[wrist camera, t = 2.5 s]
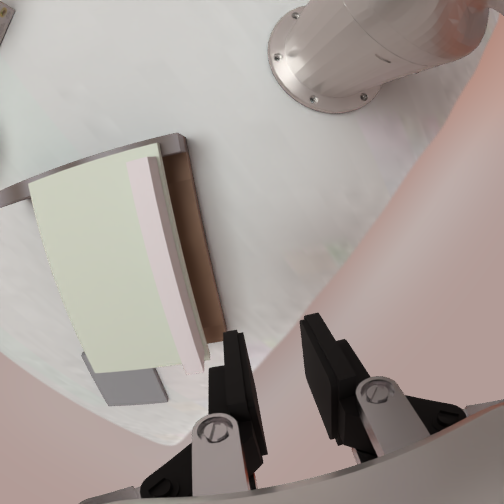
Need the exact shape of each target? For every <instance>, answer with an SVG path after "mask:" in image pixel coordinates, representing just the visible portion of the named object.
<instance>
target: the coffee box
mask: <svg viewBox="0 0 504 504" xmlns="http://www.w3.org/2000/svg"><path fill="white" fill-rule="evenodd" d="M14 12H15V10H14V9H12V8H11V7H9V6H7V5H6V4H4V3H2V2H1V1H0V44H1V41H2V39H3V36H4V34H5V32H6V29H7V27H8V25H9V23H10V21H11V18H12V16H13V14H14Z"/></svg>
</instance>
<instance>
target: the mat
mask: <svg viewBox="0 0 504 504" xmlns="http://www.w3.org/2000/svg"><path fill="white" fill-rule="evenodd" d="M81 356H82V358H83V360H84V362H85V364H86V366H87V368H88V370H89V372H90V374H91V376H92V378H93V379H94V381H95V383H96V385H97V387H98V389H99V390H100V392H101V394H102V396H103V397H104V399H105V401H106V403H107V404H108V406H124V405H141V404H154V403H165V402H168V397H167V394H166V392H165V390H164V388H163V386H162V383H161V381H160V379H159V376H158V374H157V372H156V369H155V368H148V369H139V370H129V371H118V372H106V373H95V372H94V370H93V368H92V366H91V364H90V362H89V360H88V358H87V356H86V354H85V352H83V353H82V355H81Z"/></svg>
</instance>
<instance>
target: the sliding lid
mask: <svg viewBox="0 0 504 504" xmlns="http://www.w3.org/2000/svg"><path fill="white" fill-rule="evenodd" d="M28 186H29V191H30V196H31V200H32V204H33V209H34V213H35V217H36V221H37V224H38V228H39V232H40V235H41V239H42V242H43V246H44V249H45V252H46V255H47V259H48V262H49V265H50V268H51V271H52V274H53V277H54V279H55V282H56V285H57V288H58V290H59V293H60V296H61V298H62V301H63V304H64V306H65V309H66V311H67V314H68V316H69V318H70V321H71V323H72V325H73V328H74V330H75V332H76V335H77V337H78V339H79V341H80V343H81V345H82V348H83V350H84V352H85V354H86V356H87V358H88V360H89V362H90V364H91V366H92V368H93V370H94V372H95V373H106V372H118V371H129V370H139V369H148V368H156V367H164V366H172V365H179V364H182V365H183V368H184V370H185V373H186V375H190V374H197V373H204V361H206V360H210V352H209V349H208V345H207V342H206V338H205V335H204V331H203V328H202V324H201V321H200V317H199V314H198V310H197V306H196V303H195V299H194V295H193V291H192V288H191V284H190V280H189V276H188V272H187V268H186V264H185V260H184V256H183V252H182V248H181V244H180V240H179V235H178V231H177V227H176V222H175V218H174V213H173V209H172V204H171V200H170V195H169V190H168V185H167V180H166V175H165V170H164V165H163V160H162V155H161V150H160V144H159V143H154V144H150V145H146V146H142V147H138V148H134V149H131V150H127V151H123V152H120V153H116V154H113V155H109V156H106V157H103V158H99V159H96V160H93V161H90V162H87V163H84V164H81V165H78V166H75V167H72V168H69V169H66V170H63V171H60V172H57V173H55V174H52V175H49V176H46V177H44V178H41V179H39V180H36V181H33V182H31V183H28Z"/></svg>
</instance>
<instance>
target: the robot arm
mask: <svg viewBox="0 0 504 504" xmlns="http://www.w3.org/2000/svg"><path fill="white" fill-rule="evenodd" d="M489 8H492V9H495V10H496V11H498V12H500V13H501V14H502V15H503V16H504V0H310V1H309V3H308V4H307V5H306V6H302V7H298V8H296V9H294V10H292V11H290V12H288V13H287V14H285V15H284V16H283V17H282V18H281V19H280V20H279V21H278V22H277V24H276V25H275V27H274V28H273V30H272V32H271V35H270V38H269V42H268V59H269V64H270V67H271V70H272V73H273V75H274V76H275V78H276V80H277V81H278V83H279V84H280V86H281V87H282V88H283V89H284V90H285V91H286V93H288V94H289V95H290V96H291V97H292V98H294V99H295V100H296V101H298V102H299V103H301V104H303V105H304V106H306V107H309V108H311V109H314V110H316V111H321V112H325V113H344V112H350V111H353V110H356V109H359V108H361V107H363V106H365V105H366V104H368V103H369V102H370V101H371V100H372V99H373V98H374V97H375V96H376V94H377V93H378V92H379V90H380V88H381V85H382V84H383V83H386V82H389V81H392V80H395V79H398V78H401V77H404V76H407V75H410V74H413V73H419V72H420V71H423V70H426V69H429V68H433V67H436V66H439V65H442V64H446V63H449V62H453V61H456V60H458V59H461V58H463V57H465V56H467V55H468V54H470V53H471V52H472V51H473V50H474V49H475V48H476V47H477V46H478V45H479V43H480V42H481V40H482V38H483V36H484V33H485V30H486V27H487V22H488V15H489ZM293 17H295V18H296V19H294V18H293ZM274 58H278V59H279V61H276V60H275V59H274ZM360 96H361V97H362V100H361V98H360ZM310 99H313V100H314V102H313V103H311V102H310ZM300 329H301V338H302V348H303V357H304V367H305V374H306V379H307V381H308V384H309V387H310V389H311V392H312V394H313V397H314V399H315V402H316V405H317V407H318V410H319V412H320V415H321V417H322V420H323V423H324V425H325V428H326V430H327V433H328V435H329V438H330V439H334V438H335V439H336V442H337V444H338V446H339V445H342V444H344V445H346V446H349V447H352V452H353V455H354V457H355V459H356V462H357V465H355V466H352V467H349V468H346V469H342V470H339V471H336V472H332V473H329V474H325V475H321V476H317V477H314V478H310V479H305V480H301V481H297V482H293V483H288V484H283V485H278V486H273V487H267V488H261V489H258V488H257V483H256V477H255V473H254V472H255V471H256V470H257V469H258V468H259V467H260V466H261V465H262V464H263V458H262V455H267V454H268V453H267V447H266V442H265V437H264V432H263V426H262V421H261V415H260V410H259V405H258V399H257V393H256V388H255V383H254V379H253V374H252V370H251V366H250V361H249V357H248V352H247V348H246V343H245V339H244V334H243V332H242V333H238V332H237V330H233V331H228V332H223V345H224V364H225V365H224V366H218V367H212V368H209V415H206V416H204V417H203V418H201V419H200V420H198V421H197V422H196V424H195V425H194V427H193V430H192V443H191V444H189V445H188V446H187V447H186V448H185V449H183V450H182V451H181V452H180V453H178V454H177V455H176V456H175V457H173V458H172V459H171V460H170V461H168V462H167V463H166V464H164V465H163V466H162V467H161V468H159V469H158V470H157V471H155V472H154V473H153V474H151V475H150V476H149V477H148V478H146V479H145V481H144V482H143V483H142V485H141V486H140V487H138V488H134V487H133V486H131V487H128V488H124V489H121V490H118V491H115V492H111V493H108V494H104V495H101V496H97V497H93V498H89V499H86V500H84V501H82V502H80V503H79V504H504V399H503V400H498V401H493V402H487V403H482V404H475V405H469V406H466V407H465V409H461V408H459V407H458V406H456V405H452V404H447V403H441V402H436V401H430V400H425V399H421V398H416V397H411V396H406V395H404V394H403V392H402V390H401V389H400V387H399V386H398V384H396V382H395V381H394V380H392V379H390V378H387V377H383V376H382V377H381V376H380V377H379V376H376V377H370V376H369V374H368V372H367V371H366V369H365V368H364V366H363V365H362V363H361V362H360V360H359V359H358V357H357V356H356V354H355V352H354V351H353V350H352V348H351V346H350V345H349V343H348V342H347V341H346V340H345V339H343V340H339V341H335V339H334V337H333V336H332V334H331V332H330V331H329V329H328V327H327V326H326V324H325V322H324V321H323V319H322V318H321V316H320V315H319V313H315V314H310V315H306V316H304V320H300Z"/></svg>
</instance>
